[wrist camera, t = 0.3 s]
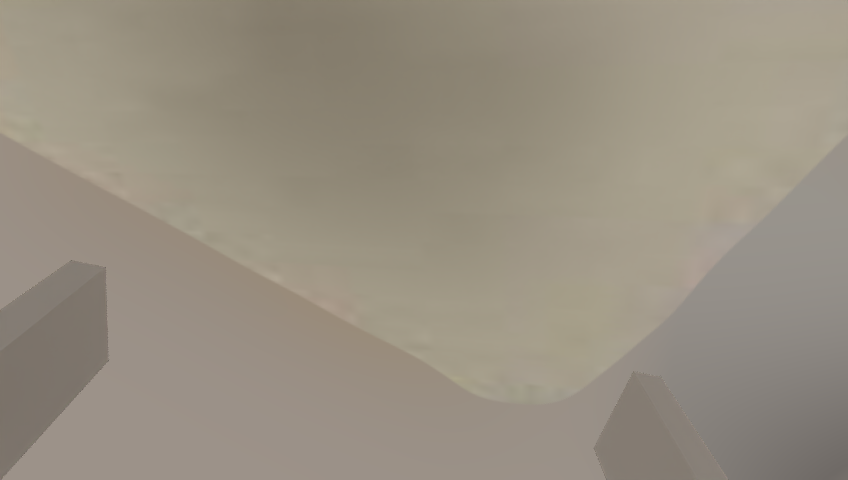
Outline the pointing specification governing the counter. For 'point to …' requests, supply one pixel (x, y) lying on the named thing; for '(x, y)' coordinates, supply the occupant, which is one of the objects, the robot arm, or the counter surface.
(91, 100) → the counter surface
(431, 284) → the counter surface
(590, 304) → the counter surface
